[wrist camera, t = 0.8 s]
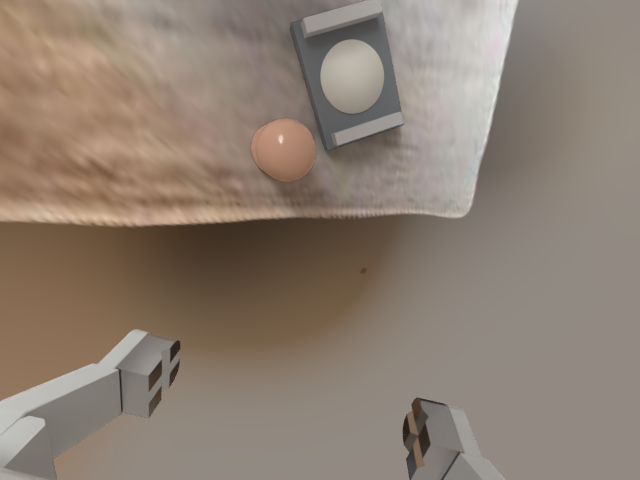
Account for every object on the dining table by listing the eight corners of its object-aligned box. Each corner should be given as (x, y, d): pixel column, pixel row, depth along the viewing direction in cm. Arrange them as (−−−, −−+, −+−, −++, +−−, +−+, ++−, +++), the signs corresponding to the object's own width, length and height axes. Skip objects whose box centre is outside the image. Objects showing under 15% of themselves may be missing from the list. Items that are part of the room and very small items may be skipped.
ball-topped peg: (240, 149, 43) (237, 151, 28) (274, 111, 42) (288, 95, 28) (277, 184, 45) (292, 202, 31) (309, 148, 45) (339, 150, 31)
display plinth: (289, 28, 40) (294, 16, 36) (373, 4, 41) (386, -10, 38) (324, 150, 45) (331, 150, 42) (397, 125, 47) (410, 124, 43)
